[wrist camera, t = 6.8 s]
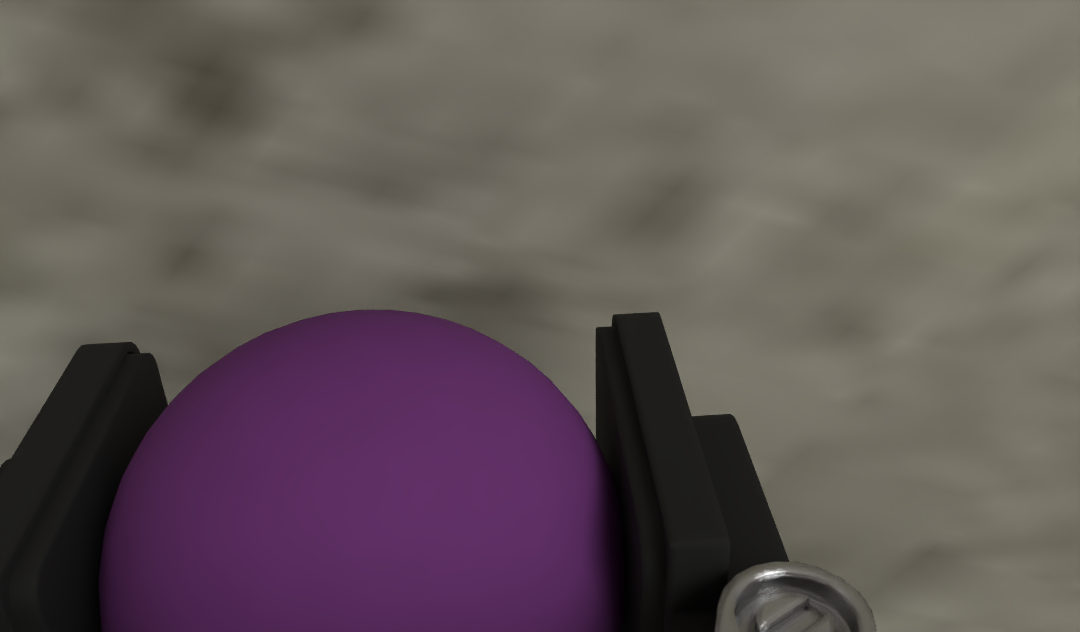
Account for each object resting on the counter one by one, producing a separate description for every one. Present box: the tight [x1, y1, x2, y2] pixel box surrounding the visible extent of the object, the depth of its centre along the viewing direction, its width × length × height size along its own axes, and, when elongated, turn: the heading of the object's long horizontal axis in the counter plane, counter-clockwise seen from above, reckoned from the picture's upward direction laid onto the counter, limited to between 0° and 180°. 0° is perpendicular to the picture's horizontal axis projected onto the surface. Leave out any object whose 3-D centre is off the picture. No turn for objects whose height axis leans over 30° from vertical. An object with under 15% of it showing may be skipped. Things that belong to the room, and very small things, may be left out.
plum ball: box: [98, 310, 627, 632], centre depth 11 cm, size 5×5×5 cm
